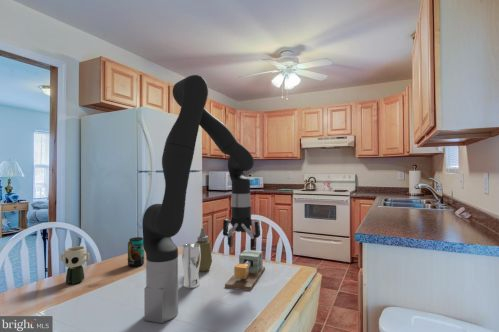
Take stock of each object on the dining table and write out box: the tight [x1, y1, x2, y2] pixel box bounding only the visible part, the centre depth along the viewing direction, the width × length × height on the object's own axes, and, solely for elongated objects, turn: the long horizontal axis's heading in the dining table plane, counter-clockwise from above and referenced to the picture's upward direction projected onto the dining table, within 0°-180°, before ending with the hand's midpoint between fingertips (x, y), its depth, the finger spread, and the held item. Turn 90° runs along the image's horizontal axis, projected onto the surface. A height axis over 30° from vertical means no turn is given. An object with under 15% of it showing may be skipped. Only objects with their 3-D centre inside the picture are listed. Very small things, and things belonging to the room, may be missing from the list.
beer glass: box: [181, 242, 201, 289], centre depth 108 cm, size 7×7×15 cm
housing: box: [224, 249, 266, 291], centre depth 115 cm, size 22×10×8 cm, turn 163°
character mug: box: [60, 245, 90, 285], centre depth 111 cm, size 11×7×13 cm, turn 91°
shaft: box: [233, 260, 253, 279], centre depth 117 cm, size 22×4×4 cm, turn 163°
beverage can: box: [127, 236, 145, 268], centre depth 130 cm, size 7×7×12 cm
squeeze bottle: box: [195, 227, 213, 272], centre depth 124 cm, size 8×8×18 cm
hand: (241, 247), depth 109 cm, fingers open, 8 cm apart
